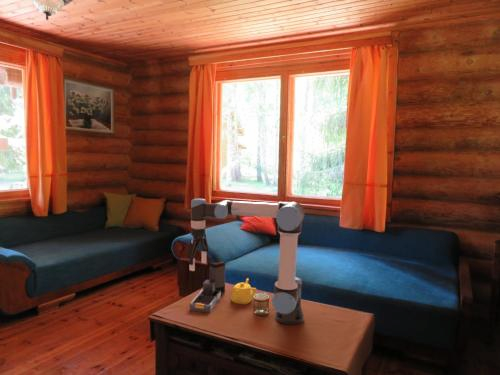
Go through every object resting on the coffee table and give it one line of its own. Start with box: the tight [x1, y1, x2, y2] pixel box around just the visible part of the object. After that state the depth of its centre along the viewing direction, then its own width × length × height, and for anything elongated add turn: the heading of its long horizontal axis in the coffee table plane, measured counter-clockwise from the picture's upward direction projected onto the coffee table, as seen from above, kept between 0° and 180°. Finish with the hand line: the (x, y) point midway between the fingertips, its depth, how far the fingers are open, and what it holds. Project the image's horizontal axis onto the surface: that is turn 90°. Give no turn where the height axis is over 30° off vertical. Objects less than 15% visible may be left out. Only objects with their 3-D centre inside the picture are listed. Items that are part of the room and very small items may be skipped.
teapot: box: [230, 277, 257, 305], centre depth 221 cm, size 22×16×11 cm
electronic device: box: [209, 260, 226, 295], centre depth 231 cm, size 9×6×20 cm, turn 130°
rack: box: [189, 279, 222, 314], centre depth 215 cm, size 12×23×11 cm, turn 169°
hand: (198, 266), depth 196 cm, fingers open, 13 cm apart
